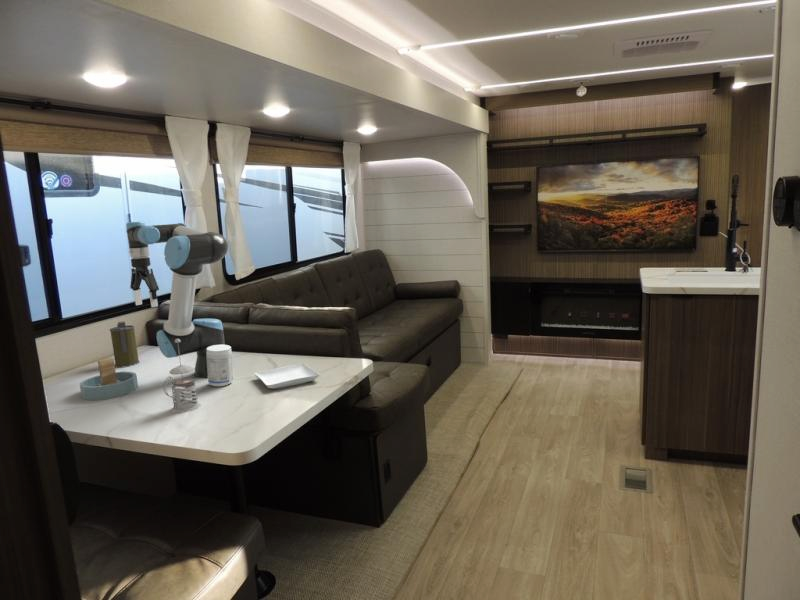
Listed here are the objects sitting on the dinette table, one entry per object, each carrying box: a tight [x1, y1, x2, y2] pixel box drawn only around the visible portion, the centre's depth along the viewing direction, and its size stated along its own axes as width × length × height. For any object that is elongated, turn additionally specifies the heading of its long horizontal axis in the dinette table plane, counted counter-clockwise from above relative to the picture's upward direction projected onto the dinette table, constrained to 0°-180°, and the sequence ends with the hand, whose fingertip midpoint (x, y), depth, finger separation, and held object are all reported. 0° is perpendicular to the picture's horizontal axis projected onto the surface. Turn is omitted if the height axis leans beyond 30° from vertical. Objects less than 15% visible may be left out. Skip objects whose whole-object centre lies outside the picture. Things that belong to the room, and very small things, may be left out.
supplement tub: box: [206, 344, 234, 387], centre depth 230 cm, size 10×10×15 cm
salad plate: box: [254, 363, 320, 390], centre depth 230 cm, size 21×21×3 cm
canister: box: [109, 321, 140, 368], centre depth 270 cm, size 11×10×20 cm
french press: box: [162, 339, 202, 413], centre depth 203 cm, size 10×12×25 cm
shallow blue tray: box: [79, 371, 139, 401], centre depth 230 cm, size 20×20×5 cm
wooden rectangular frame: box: [97, 357, 117, 386], centre depth 229 cm, size 2×5×12 cm, turn 140°
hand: (146, 305), depth 255 cm, fingers open, 13 cm apart
